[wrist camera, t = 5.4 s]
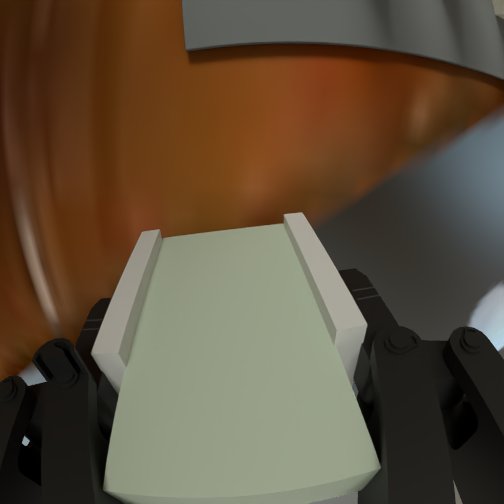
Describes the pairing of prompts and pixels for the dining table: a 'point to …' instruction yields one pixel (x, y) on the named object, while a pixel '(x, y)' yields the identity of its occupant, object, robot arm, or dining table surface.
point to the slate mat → (356, 27)
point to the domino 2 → (499, 8)
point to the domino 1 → (234, 383)
